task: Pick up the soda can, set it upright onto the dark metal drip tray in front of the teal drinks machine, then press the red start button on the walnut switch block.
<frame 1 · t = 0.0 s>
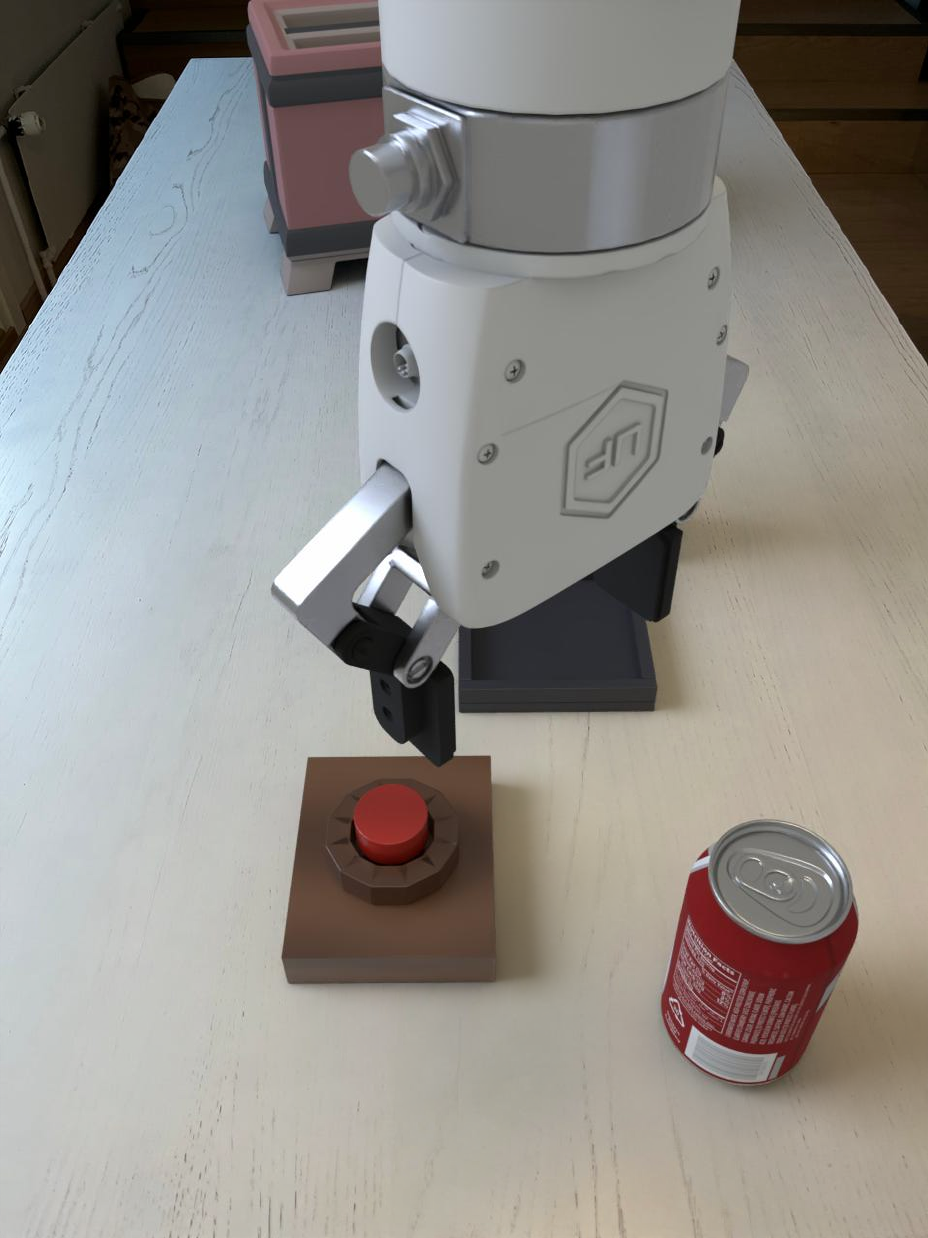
hand: (529, 664, 37), 22 cm above the table, tool pointing down, fingers open, 9 cm apart
drip tray: (550, 642, 69), on the table
start button: (391, 824, 54), point 5 cm above the table, slide at 0.1 cm
soda can: (731, 1022, 51), on the table
start switch: (396, 875, 57), on the table
toaster: (439, 233, 113), on the table
drinks machine: (542, 541, 76), on the table
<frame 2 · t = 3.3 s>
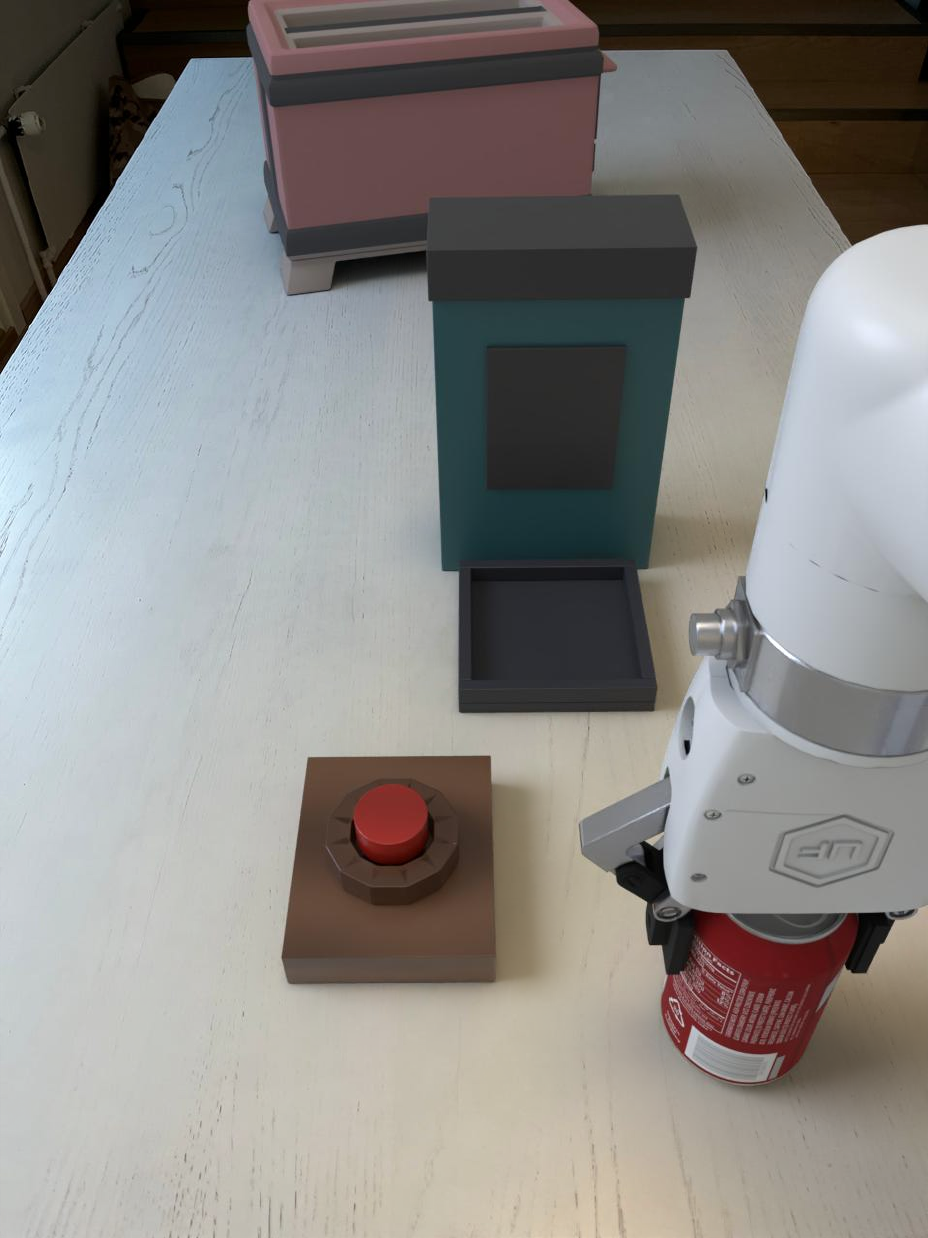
hand: (758, 941, 46), 7 cm above the table, tool pointing down, fingers closed on soda can, 6 cm apart
soda can: (731, 1022, 51), on the table, touching gripper
everything else where it was.
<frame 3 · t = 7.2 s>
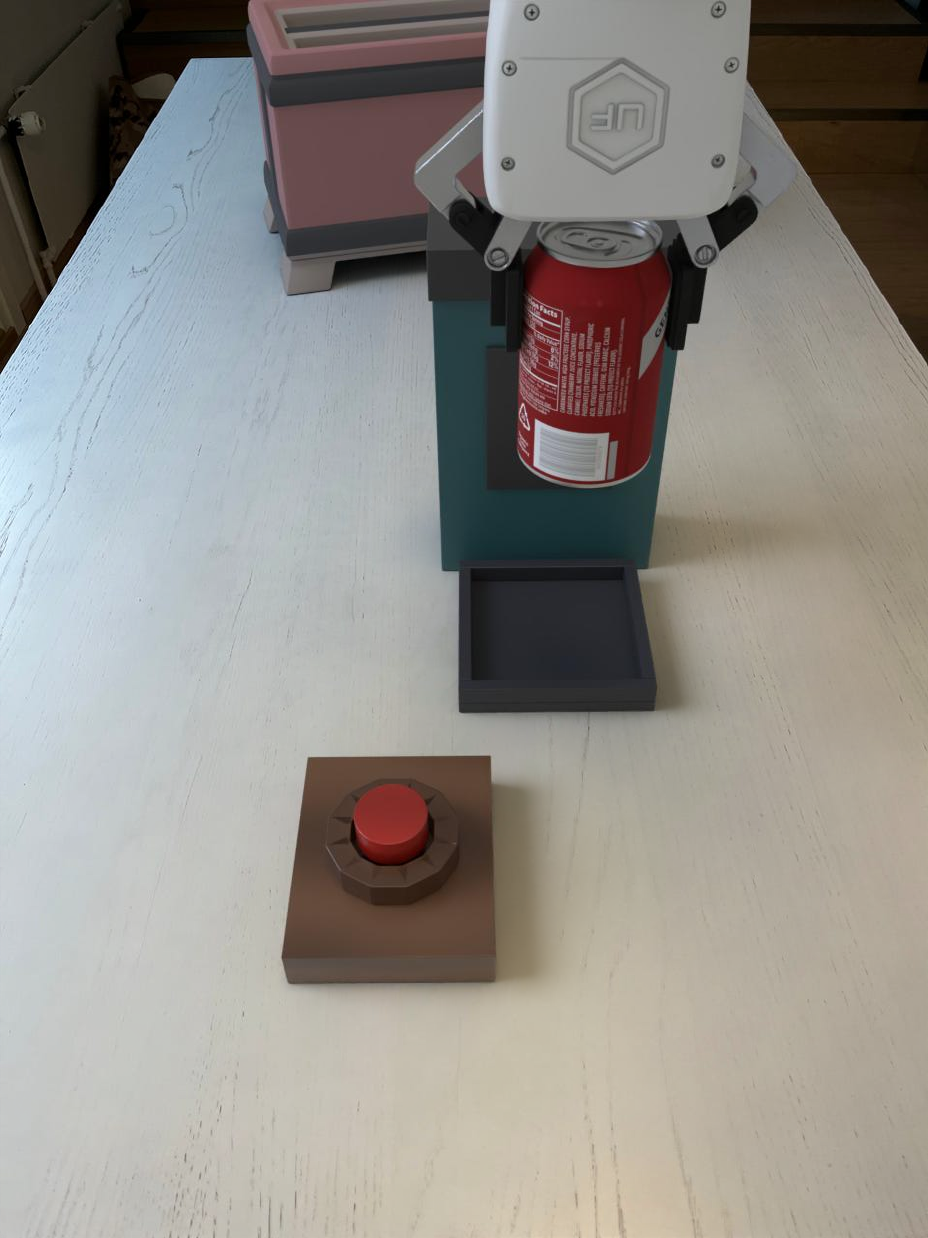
hand: (592, 333, 51), 23 cm above the table, tool pointing down, fingers closed on soda can, 6 cm apart
soda can: (582, 462, 56), point 16 cm above the table, touching gripper
everything else where it was.
when the fingers open (8 cm above the table, at t = 11.3 s): soda can stays where it is, resting on drip tray.
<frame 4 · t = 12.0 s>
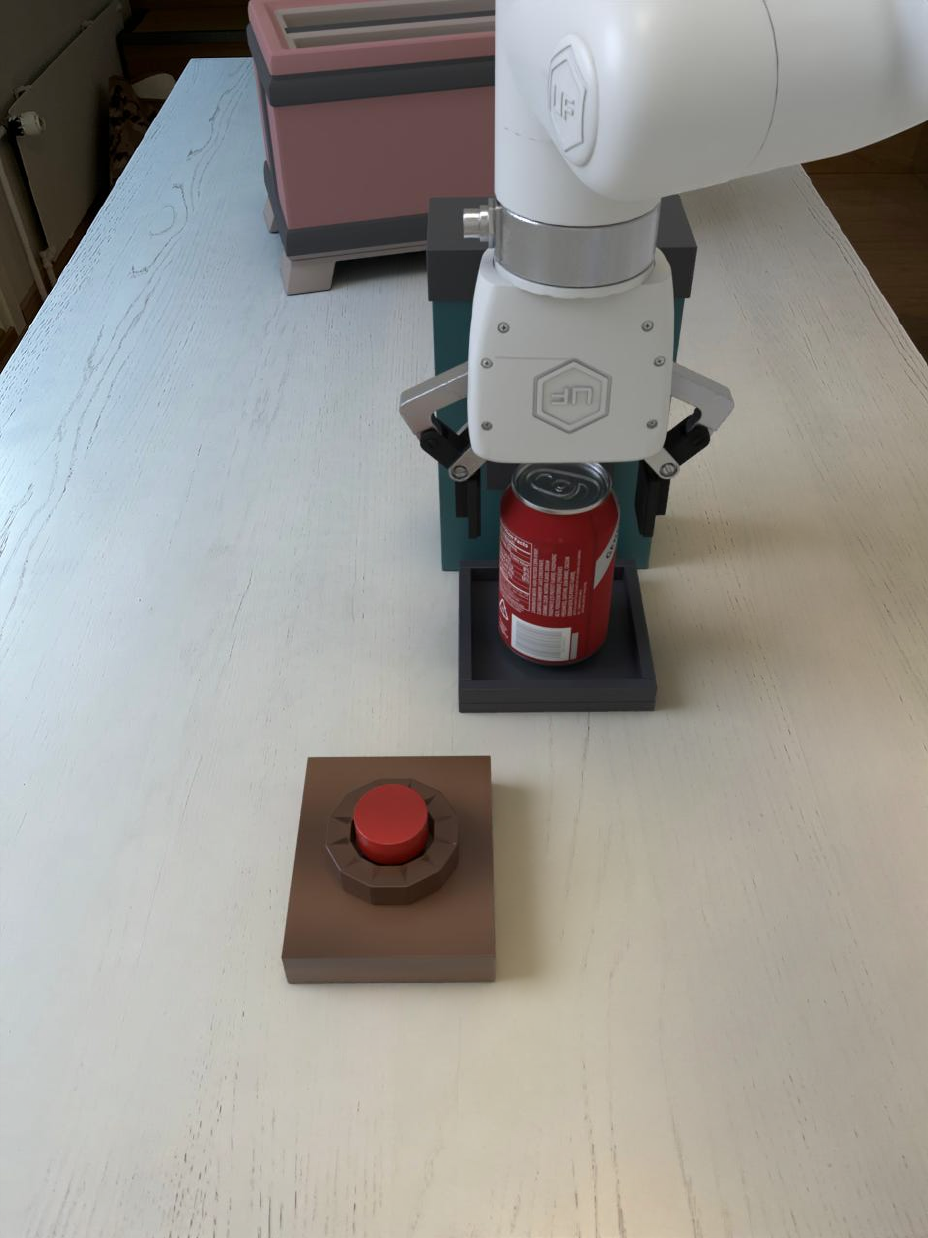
hand: (558, 523, 62), 10 cm above the table, tool pointing down, fingers open, 9 cm apart
soda can: (552, 636, 68), point 1 cm above the table, touching drip tray
everything else where it was.
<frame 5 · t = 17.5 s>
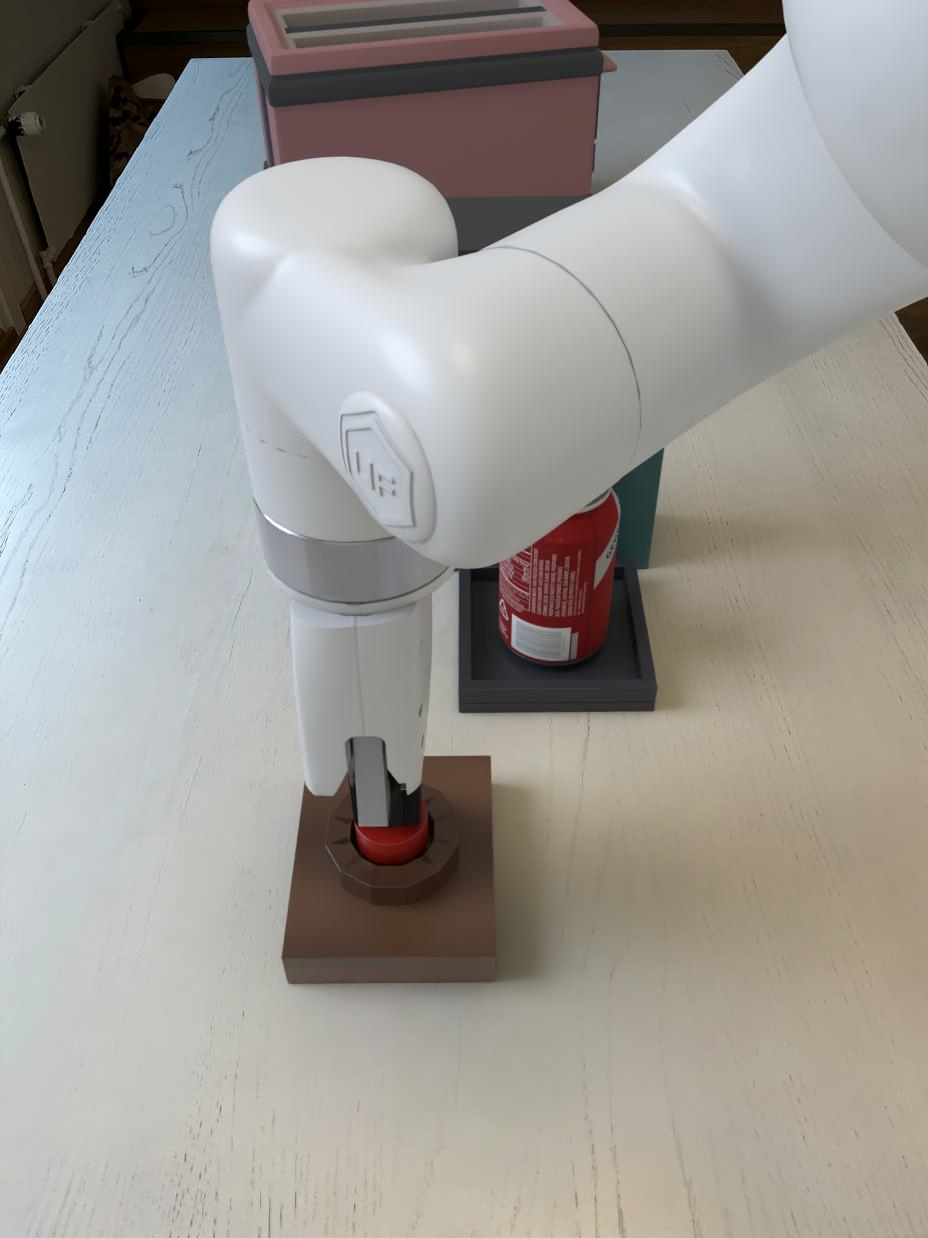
hand: (388, 811, 53), 5 cm above the table, tool pointing down, fingers closed
start button: (391, 824, 54), point 4 cm above the table, slide at 0.1 cm, touching gripper
everything else where it was.
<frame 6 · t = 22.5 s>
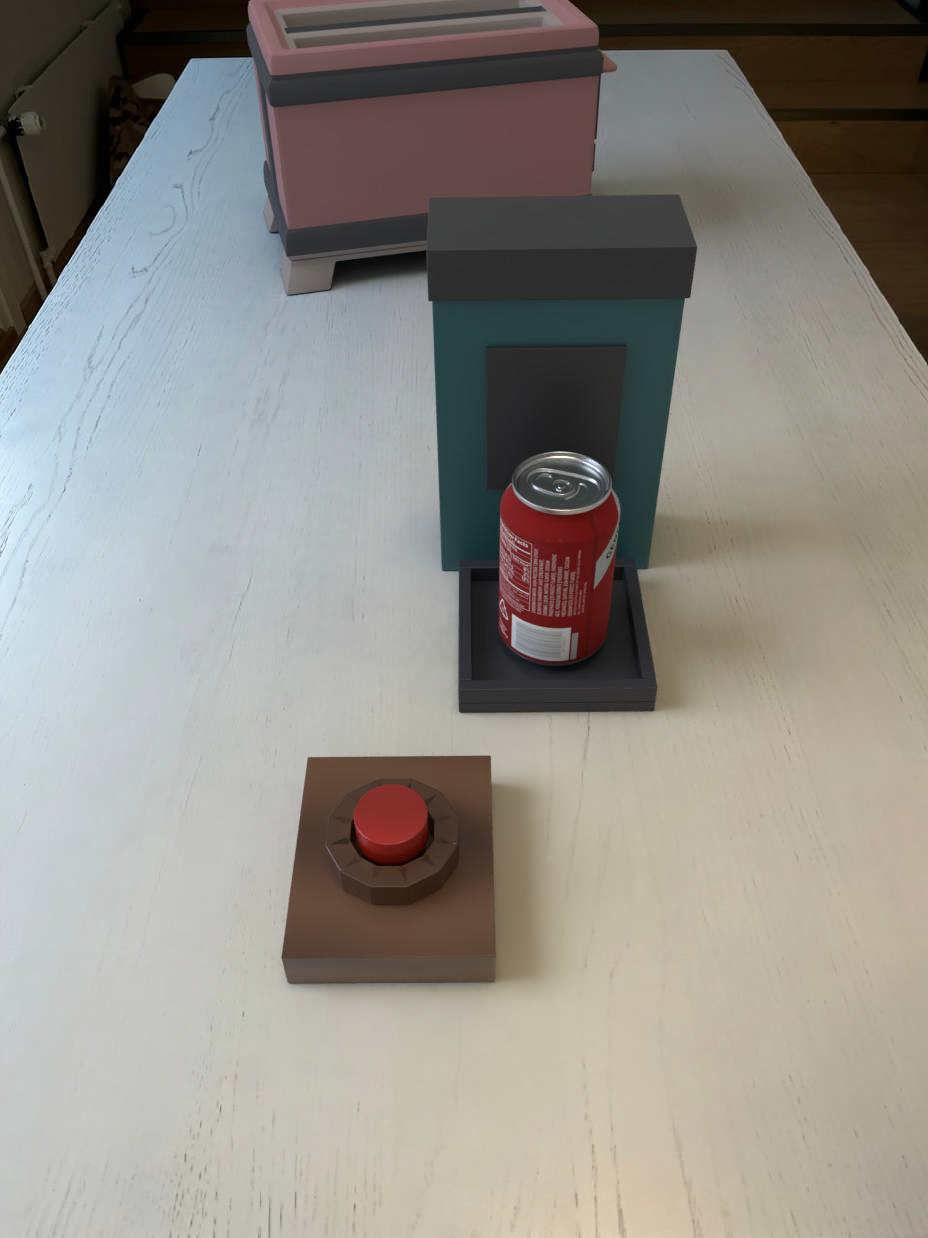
start button: (391, 824, 54), point 4 cm above the table, slide at 0.1 cm
everything else where it was.
at the end: soda can 0.1 cm off-centre in the drip tray, point 0.6 cm above the drip tray's base; soda can tilted 0°; start button pushed in 0.9 cm at the most during the clip, back to where it started at the end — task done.
